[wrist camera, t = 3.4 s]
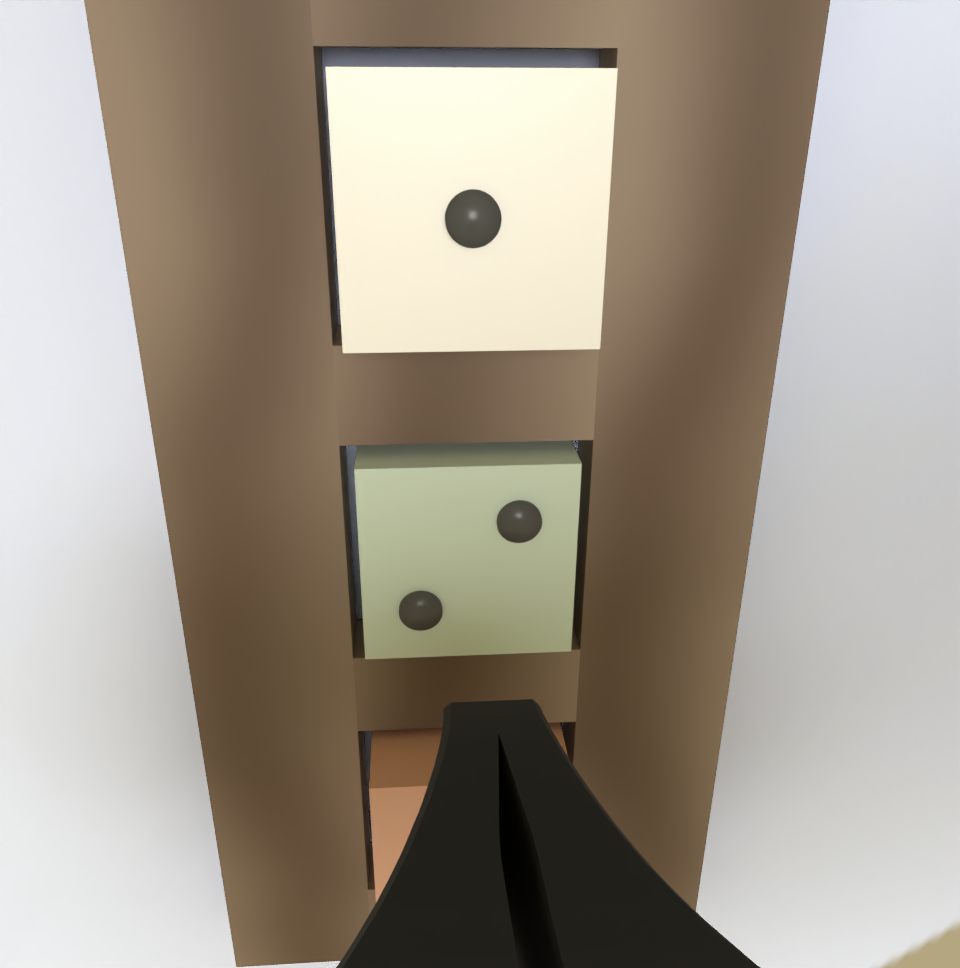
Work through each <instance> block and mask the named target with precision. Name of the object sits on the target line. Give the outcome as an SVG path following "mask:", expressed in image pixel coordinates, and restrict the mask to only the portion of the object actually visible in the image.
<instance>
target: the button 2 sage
mask: <svg viewBox="0 0 960 968" xmlns="http://www.w3.org/2000/svg"><path fill="white" fill-rule="evenodd" d="M581 469H582V463H581V461H580V458H579V456H578V454H577V452H576V449H575V447H574V445H573V442H572V440H570V441H526V442H482V443H439V444H395V445H357V451H356V459H355V467H354V475H355V493H356V510H357V527H358V544H359V561H360V579H361V596H362V613H363V630H364V647H365V659H388V658H414V657H439V656H465V655H491V654H517V653H542V652H568V651H571V644H572V627H573V609H574V592H575V574H576V557H577V539H578V522H579V504H580V487H581Z"/></svg>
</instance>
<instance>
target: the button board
mask: <svg viewBox="0 0 960 968" xmlns="http://www.w3.org/2000/svg"><path fill="white" fill-rule="evenodd" d="M84 2H85V8H86V14H87V21H88V27H89V34H90V40H91V46H92V53H93V59H94V65H95V72H96V78H97V84H98V91H99V97H100V103H101V110H102V116H103V122H104V129H105V135H106V141H107V148H108V154H109V161H110V167H111V173H112V180H113V186H114V192H115V199H116V205H117V211H118V218H119V224H120V230H121V237H122V243H123V249H124V256H125V262H126V268H127V275H128V281H129V288H130V294H131V300H132V307H133V313H134V319H135V326H136V332H137V338H138V345H139V351H140V357H141V364H142V370H143V376H144V383H145V389H146V396H147V402H148V408H149V415H150V421H151V427H152V434H153V440H154V446H155V453H156V459H157V465H158V472H159V478H160V484H161V491H162V497H163V503H164V510H165V516H166V523H167V529H168V535H169V542H170V548H171V554H172V561H173V567H174V573H175V580H176V586H177V592H178V599H179V605H180V611H181V618H182V624H183V630H184V637H185V643H186V650H187V656H188V662H189V669H190V675H191V681H192V688H193V694H194V700H195V707H196V713H197V719H198V726H199V732H200V738H201V745H202V751H203V757H204V764H205V770H206V777H207V783H208V789H209V796H210V802H211V808H212V815H213V821H214V827H215V834H216V840H217V846H218V853H219V859H220V865H221V872H222V878H223V885H224V891H225V897H226V904H227V910H228V916H229V923H230V929H231V935H232V942H233V948H234V954H235V961H236V967H245V966H261V965H277V964H294V963H310V962H326V961H341V960H342V959H343V957H344V955H345V954H346V952H347V951H348V949H349V948H350V946H351V945H352V943H353V941H354V940H355V938H356V936H357V935H358V933H359V931H360V930H361V928H362V926H363V925H364V923H365V921H366V919H367V918H368V916H369V914H370V913H371V911H372V909H373V908H374V906H375V904H376V896H375V879H374V863H373V846H372V843H370V833H369V817H368V800H367V784H366V768H365V752H364V736H363V731H376V730H398V729H421V728H443V709H444V708H445V707H446V706H447V705H449V704H450V703H451V702H475V701H499V700H524V699H533V700H534V701H535V702H536V703H537V704H538V705H539V706H540V708H541V710H542V712H543V714H544V716H545V718H546V720H547V722H548V723H557V722H563V737H564V741H565V746H566V750H567V754H568V758H569V759H570V761H571V762H572V764H573V765H574V767H575V768H576V770H577V772H578V773H579V775H580V776H581V777H582V779H583V780H584V782H585V783H586V784H587V786H588V787H589V789H590V790H591V792H592V793H593V794H594V796H595V797H596V799H597V800H598V801H599V803H600V804H601V806H602V807H603V808H604V810H605V811H606V812H607V813H608V815H609V816H610V817H611V819H612V820H613V821H614V823H615V824H616V825H617V826H618V827H619V829H620V830H621V831H622V832H623V834H624V835H625V836H626V837H627V839H628V840H629V841H630V842H631V844H632V845H633V846H634V847H635V848H636V849H637V851H638V852H639V853H640V854H641V855H642V856H643V858H644V859H645V860H646V861H647V862H648V863H649V864H650V865H651V867H652V868H653V869H654V870H655V871H656V872H657V873H658V874H659V875H660V876H661V877H662V878H663V879H664V880H665V881H666V882H667V884H668V885H669V886H670V887H671V888H672V889H673V890H674V891H675V892H676V893H677V894H678V895H679V896H680V897H681V898H682V899H683V900H684V901H685V902H686V903H687V904H688V905H689V906H690V907H691V908H692V909H693V910H694V911H696V904H697V898H698V891H699V884H700V877H701V871H702V864H703V857H704V850H705V844H706V837H707V830H708V823H709V817H710V810H711V803H712V796H713V790H714V783H715V776H716V769H717V763H718V756H719V749H720V742H721V735H722V729H723V722H724V715H725V708H726V702H727V695H728V688H729V681H730V675H731V668H732V661H733V654H734V648H735V641H736V634H737V627H738V621H739V614H740V607H741V600H742V594H743V587H744V580H745V573H746V567H747V560H748V553H749V546H750V539H751V533H752V526H753V519H754V512H755V506H756V499H757V492H758V485H759V479H760V472H761V465H762V458H763V452H764V445H765V438H766V431H767V425H768V418H769V411H770V404H771V398H772V391H773V384H774V377H775V370H776V364H777V357H778V350H779V343H780V337H781V330H782V323H783V316H784V310H785V303H786V296H787V289H788V283H789V276H790V269H791V262H792V256H793V249H794V242H795V235H796V229H797V222H798V215H799V208H800V202H801V195H802V188H803V181H804V174H805V168H806V161H807V154H808V147H809V141H810V134H811V127H812V120H813V114H814V107H815V100H816V93H817V87H818V80H819V73H820V66H821V60H822V53H823V46H824V39H825V33H826V26H827V19H828V12H829V5H830V0H84ZM321 47H336V48H482V49H600V65H599V68H618V71H617V87H616V103H615V119H614V135H613V151H612V167H611V183H610V199H609V215H608V231H607V247H606V263H605V279H604V295H603V311H602V327H601V343H600V349H581V350H519V351H456V352H394V353H343V349H342V332H341V325H338V314H337V298H336V282H335V266H334V250H333V233H332V217H331V201H330V185H329V169H328V152H327V136H326V120H325V104H324V88H323V71H322V55H321ZM570 440H579V447H578V456H579V458H580V461H581V463H582V469H581V487H580V504H579V522H578V539H577V557H576V574H575V592H574V609H573V627H572V644H571V651H568V652H542V653H517V654H491V655H465V656H439V657H414V658H388V659H365V647H364V630H363V620H356V606H355V590H354V574H353V557H352V541H351V525H350V509H349V493H348V476H347V460H346V446H351V445H395V444H439V443H482V442H526V441H570Z"/></svg>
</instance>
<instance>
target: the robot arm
mask: <svg viewBox="0 0 960 968" xmlns="http://www.w3.org/2000/svg"><path fill="white" fill-rule="evenodd" d="M336 968H760V967H759V966H757V965H756V964H755V963H754V962H752V961H751V960H750V959H749V958H748V957H747V956H745V955H744V954H743V953H742V952H741V951H740V950H739V949H737V948H736V947H735V946H734V945H733V944H732V943H730V942H729V941H728V940H727V939H726V938H725V937H723V936H722V935H721V934H720V933H719V932H718V931H717V930H715V929H714V928H713V927H712V926H711V925H710V924H708V923H707V922H706V921H705V920H704V919H703V918H702V917H701V916H700V915H699V914H698V913H697V912H696V911H694V910H693V909H692V908H691V907H690V906H689V905H688V904H687V903H686V902H685V901H684V900H683V899H682V898H681V897H680V896H679V895H678V894H677V893H676V892H675V891H674V890H673V889H672V888H671V887H670V886H669V885H668V884H667V882H666V881H665V880H664V879H663V878H662V877H661V876H660V875H659V874H658V873H657V872H656V871H655V870H654V869H653V868H652V867H651V865H650V864H649V863H648V862H647V861H646V860H645V859H644V858H643V856H642V855H641V854H640V853H639V852H638V851H637V849H636V848H635V847H634V846H633V845H632V844H631V842H630V841H629V840H628V839H627V837H626V836H625V835H624V834H623V832H622V831H621V830H620V829H619V827H618V826H617V825H616V824H615V823H614V821H613V820H612V819H611V817H610V816H609V815H608V813H607V812H606V811H605V810H604V808H603V807H602V806H601V804H600V803H599V801H598V800H597V799H596V797H595V796H594V794H593V793H592V792H591V790H590V789H589V787H588V786H587V784H586V783H585V782H584V780H583V779H582V777H581V776H580V775H579V773H578V772H577V770H576V768H575V767H574V765H573V764H572V762H571V761H570V759H569V758H568V756H567V754H566V753H565V751H564V750H563V748H562V746H561V745H560V743H559V741H558V740H557V738H556V736H555V735H554V733H553V731H552V729H551V727H550V726H549V724H548V722H547V720H546V718H545V716H544V714H543V712H542V710H541V708H540V706H539V705H538V704H537V703H536V702H535V701H534V700H533V699H524V700H499V701H475V702H451V703H450V704H449V705H447V706H446V707H445V708H444V709H443V728H442V735H441V740H440V745H439V749H438V753H437V757H436V761H435V765H434V768H433V771H432V774H431V777H430V780H429V783H428V787H427V790H426V793H425V796H424V799H423V802H422V804H421V807H420V810H419V812H418V815H417V817H416V819H415V822H414V824H413V827H412V829H411V831H410V834H409V836H408V839H407V841H406V843H405V846H404V848H403V850H402V853H401V855H400V857H399V859H398V861H397V863H396V865H395V867H394V870H393V872H392V874H391V876H390V878H389V880H388V881H387V883H386V885H385V887H384V889H383V891H382V893H381V895H380V897H379V899H378V900H377V902H376V904H375V906H374V908H373V909H372V911H371V913H370V914H369V916H368V918H367V919H366V921H365V923H364V925H363V926H362V928H361V930H360V931H359V933H358V935H357V936H356V938H355V940H354V941H353V943H352V945H351V946H350V948H349V949H348V951H347V952H346V954H345V955H344V957H343V959H342V960H341V962H340V963H339V965H338V966H337V967H336Z"/></svg>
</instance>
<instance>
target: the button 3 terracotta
mask: <svg viewBox="0 0 960 968" xmlns="http://www.w3.org/2000/svg"><path fill="white" fill-rule="evenodd" d="M548 724H549V726H550V727H551V729H552V731H553V733H554V735H555V736H556V738H557V740H558V741H559V743H560V745H561V746H562V748H563V750H564V751H565V753H566V754H567V750H566V746H565V741H564V737H563V733H562V728H561V724H560V722H557V723H548ZM441 735H442V728H421V729H398V730H376V731H372V742H371V761H370V780H369V796H370V813H371V829H372V846H373V863H374V879H375V896H376V902H377V900H378V899H379V897H380V895H381V893H382V891H383V889H384V887H385V885H386V883H387V881H388V880H389V878H390V876H391V874H392V872H393V870H394V867H395V865H396V863H397V861H398V859H399V857H400V855H401V853H402V850H403V848H404V846H405V843H406V841H407V839H408V836H409V834H410V831H411V829H412V827H413V824H414V822H415V819H416V817H417V815H418V812H419V810H420V807H421V804H422V802H423V799H424V796H425V793H426V790H427V787H428V783H429V780H430V777H431V774H432V771H433V768H434V765H435V761H436V757H437V753H438V749H439V745H440V740H441ZM567 756H568V754H567Z"/></svg>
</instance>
